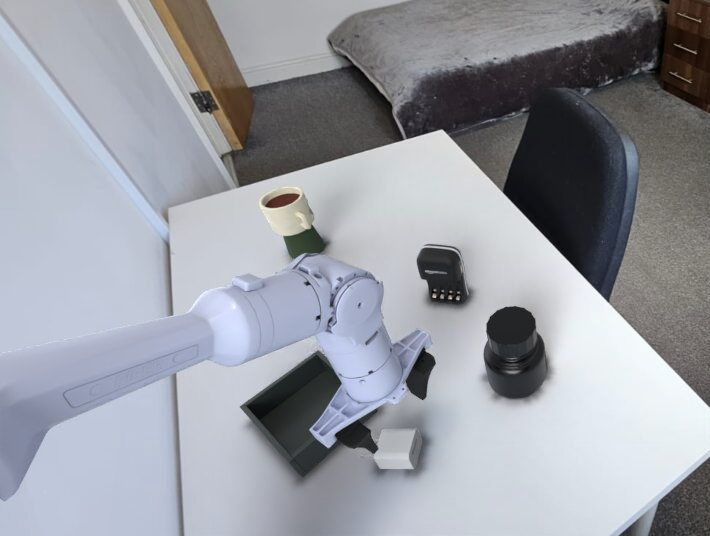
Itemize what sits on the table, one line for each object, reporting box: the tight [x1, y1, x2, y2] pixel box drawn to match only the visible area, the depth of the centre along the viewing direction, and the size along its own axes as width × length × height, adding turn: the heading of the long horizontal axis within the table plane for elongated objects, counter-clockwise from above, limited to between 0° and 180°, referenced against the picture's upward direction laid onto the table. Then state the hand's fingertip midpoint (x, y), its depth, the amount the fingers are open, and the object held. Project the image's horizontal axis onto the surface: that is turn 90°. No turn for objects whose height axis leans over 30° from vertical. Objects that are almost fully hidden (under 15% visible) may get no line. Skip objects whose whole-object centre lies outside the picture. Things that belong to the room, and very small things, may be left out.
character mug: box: [258, 185, 326, 260], centre depth 87 cm, size 11×7×13 cm, turn 59°
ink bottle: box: [482, 305, 548, 400], centre depth 68 cm, size 10×9×12 cm
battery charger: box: [416, 243, 470, 305], centre depth 79 cm, size 7×4×11 cm, turn 84°
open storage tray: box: [239, 349, 378, 478], centre depth 65 cm, size 11×12×4 cm
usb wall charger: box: [358, 427, 423, 470], centre depth 61 cm, size 4×7×4 cm, turn 90°
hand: (395, 420), depth 56 cm, fingers open, 7 cm apart
